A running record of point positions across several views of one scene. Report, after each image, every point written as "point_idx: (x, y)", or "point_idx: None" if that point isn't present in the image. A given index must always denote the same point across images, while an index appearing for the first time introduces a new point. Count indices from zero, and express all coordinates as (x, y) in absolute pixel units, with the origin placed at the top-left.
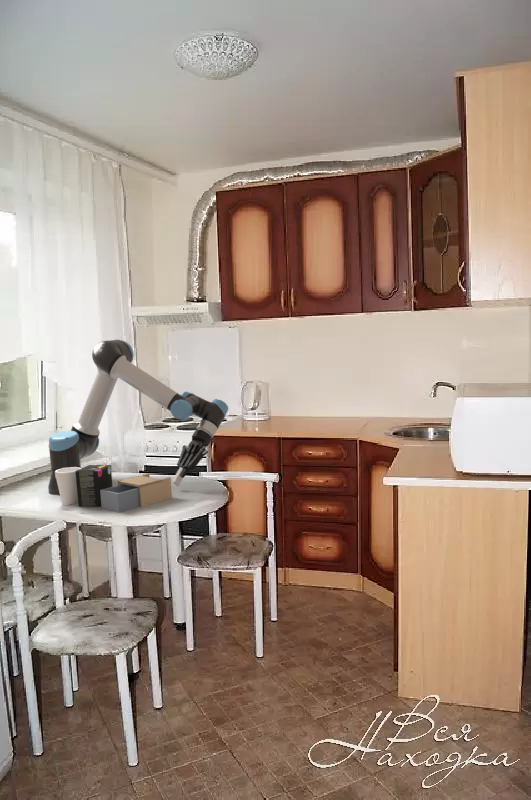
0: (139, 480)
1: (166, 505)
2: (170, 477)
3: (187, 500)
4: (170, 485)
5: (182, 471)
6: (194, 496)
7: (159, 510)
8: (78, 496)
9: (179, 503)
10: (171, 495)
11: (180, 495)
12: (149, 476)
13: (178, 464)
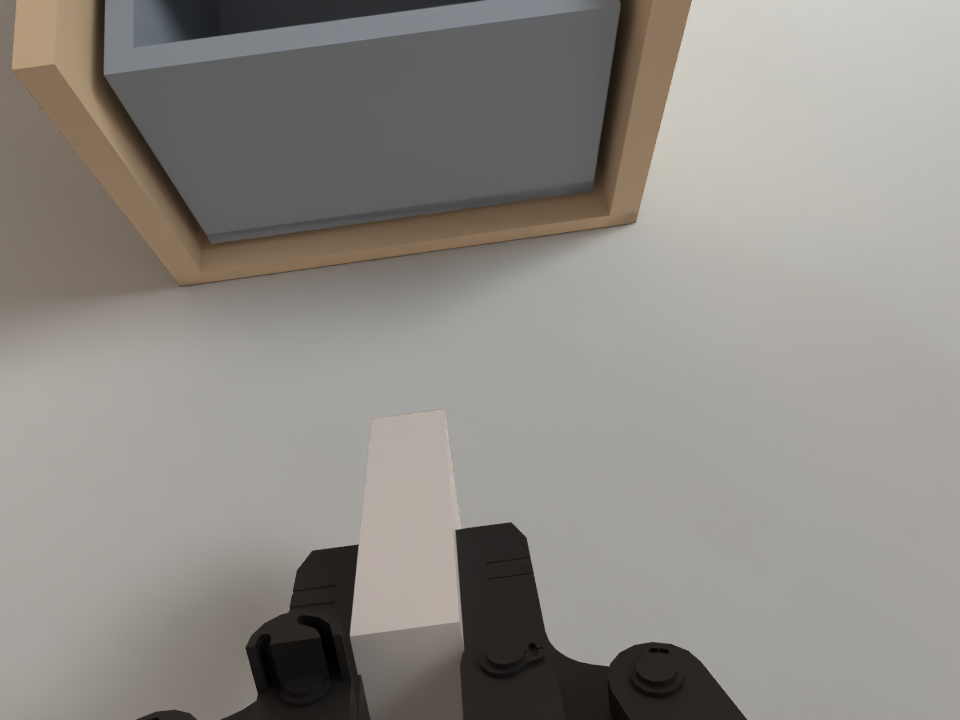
0: None
1: None
2: (13, 70)
3: (29, 440)
4: (86, 152)
5: (349, 617)
6: (99, 638)
7: (13, 21)
8: None
9: (19, 294)
10: (150, 243)
11: (335, 531)
12: (647, 24)
13: (626, 672)
